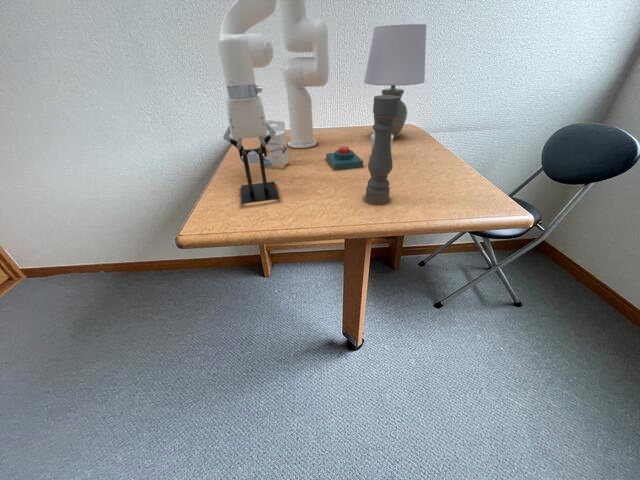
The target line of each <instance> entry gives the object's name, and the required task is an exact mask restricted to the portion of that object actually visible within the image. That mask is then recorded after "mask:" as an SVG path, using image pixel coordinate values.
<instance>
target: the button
mask: <svg viewBox="0 0 640 480" xmlns="http://www.w3.org/2000/svg"><path fill="white" fill-rule="evenodd" d="M338 150H339V153H340V154H348V153H349V150H350V147H348V146H340V147H339V148H338Z"/></svg>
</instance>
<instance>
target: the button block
mask: <svg viewBox="0 0 640 480" xmlns="http://www.w3.org/2000/svg"><path fill="white" fill-rule="evenodd" d="M325 159H326V161H327V162H328V164H329V165H330V166H331V167H332V168H333V170H334V171H340V170H341V171H343V170H349V169H350V170H352V169H358V168H363V167H364V160H363V159H362V158H360V156H358V155H357V154H356V153H355V152H354V151H353V150H352V149H349V153H348V154H340V153H339V149H337V150H335V151H334V152H326V153H325Z"/></svg>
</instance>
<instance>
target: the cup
mask: <svg viewBox="0 0 640 480" xmlns="http://www.w3.org/2000/svg"><path fill="white" fill-rule="evenodd" d="M393 138H394V136H393V135H391V144H390V146H391V148H393V142H394V139H393ZM374 141H375V133H372V134H371V135H370V149H371V150H370V152H371V153H372V150H373V147H374ZM371 153H370V154H371Z"/></svg>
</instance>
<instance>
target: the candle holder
mask: <svg viewBox="0 0 640 480" xmlns="http://www.w3.org/2000/svg"><path fill="white" fill-rule="evenodd" d="M399 103H400V96H395V95H382V94H380V95H375V96H374V97H373V107H372V113H373V119H374V118H375V121H376V123H375V124H374V123H373V125H372V130H373V131H374V134H375V141H374V147H373V150H372V153H370V156H369V160H368V163H367V169H368V172H369V174H370V178H369V180H367V186H365V201H366V202H367V203H369V204H371V205H378V206H379V205H384V204H386V203H388V202H389V199H390V190H391V188H390V181H389V179H388V177H389V174H390V173H391V172H392V170H393V166H394V165H393V158H392V157H393V156H392V147H391V146H390V144H391V135H392V132H393V130H394V129H395V125H394V124H393V121H394V120H395V118H396V117H397V113H398V111H399Z"/></svg>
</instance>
